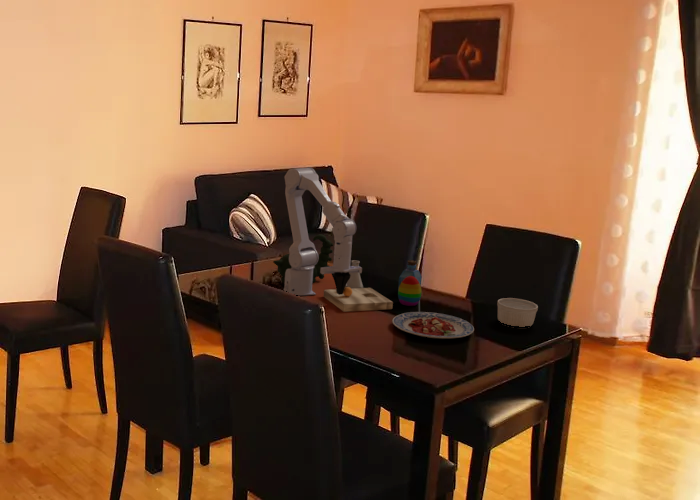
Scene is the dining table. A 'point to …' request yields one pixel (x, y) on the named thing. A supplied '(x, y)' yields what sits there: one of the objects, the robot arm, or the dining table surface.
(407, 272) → the perfume bottle
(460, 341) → the dining table surface
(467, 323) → the ceramic plate
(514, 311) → the ramekin
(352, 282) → the flask
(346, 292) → the ball
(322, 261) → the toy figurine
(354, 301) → the board
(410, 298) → the decorative egg
